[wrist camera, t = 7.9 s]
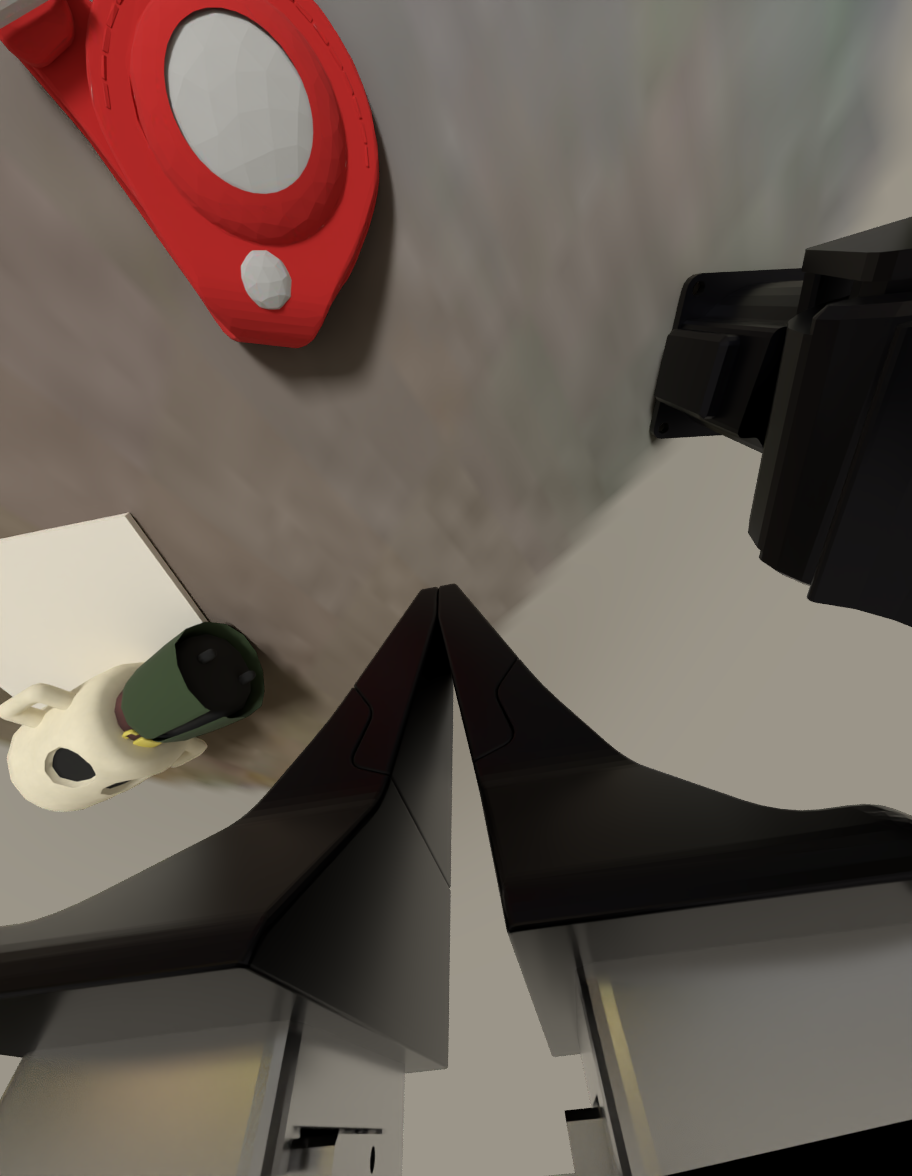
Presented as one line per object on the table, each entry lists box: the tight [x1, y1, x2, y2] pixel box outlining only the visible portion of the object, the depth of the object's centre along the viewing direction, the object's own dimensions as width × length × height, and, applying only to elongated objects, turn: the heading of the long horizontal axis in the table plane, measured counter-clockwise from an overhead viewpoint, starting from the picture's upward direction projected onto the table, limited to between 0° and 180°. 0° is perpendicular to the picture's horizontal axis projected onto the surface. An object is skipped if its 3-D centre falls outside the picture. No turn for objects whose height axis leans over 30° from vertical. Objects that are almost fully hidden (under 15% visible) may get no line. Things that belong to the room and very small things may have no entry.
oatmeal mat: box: [0, 513, 208, 709], centre depth 26 cm, size 16×14×1 cm
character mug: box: [0, 622, 264, 812], centre depth 25 cm, size 11×7×13 cm
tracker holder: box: [0, 0, 379, 348], centre depth 13 cm, size 12×4×10 cm
